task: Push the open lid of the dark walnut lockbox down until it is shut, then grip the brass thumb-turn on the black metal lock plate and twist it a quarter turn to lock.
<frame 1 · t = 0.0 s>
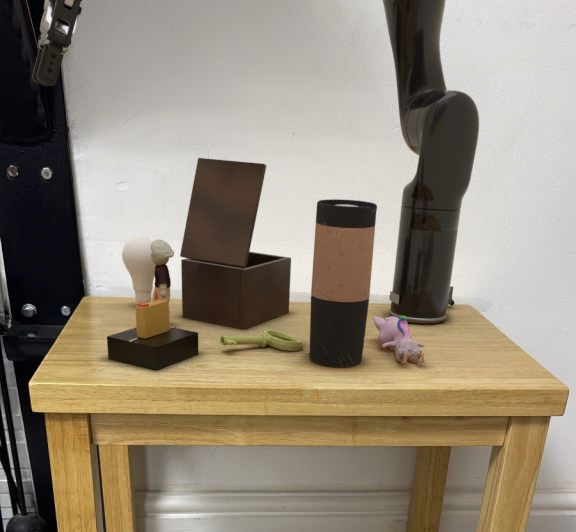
hand: (42, 83, 96), 31 cm above the table, tool tilted 20°, fingers open, 8 cm apart
lock knob: (152, 317, 101), point 5 cm above the table, hinge at 0.0°
lockbox lid: (221, 212, 115), point 16 cm above the table, hinge at 70.0°
lightbulb: (143, 307, 128), on the table
lock plate: (154, 356, 104), on the table
lockbox: (236, 315, 126), on the table
pink toy animal: (395, 352, 111), on the table
key: (262, 348, 110), on the table
travel mug: (335, 361, 106), on the table
grandmother figurine: (162, 329, 117), on the table
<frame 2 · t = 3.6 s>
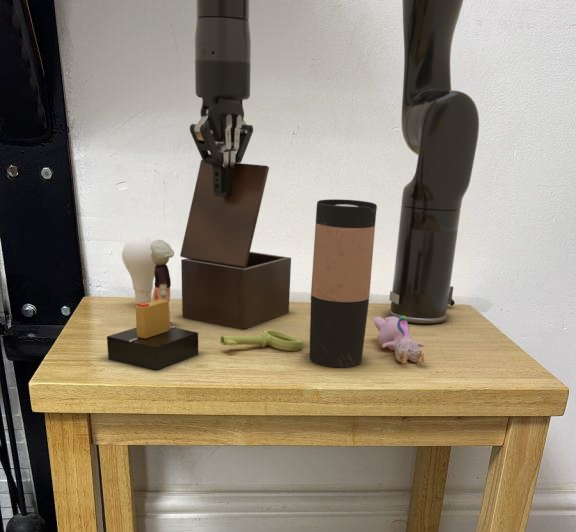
hand: (222, 196, 114), 18 cm above the table, tool pointing down, fingers closed
lockbox lid: (223, 213, 115), point 16 cm above the table, hinge at 66.7°, touching gripper
everything else where it was.
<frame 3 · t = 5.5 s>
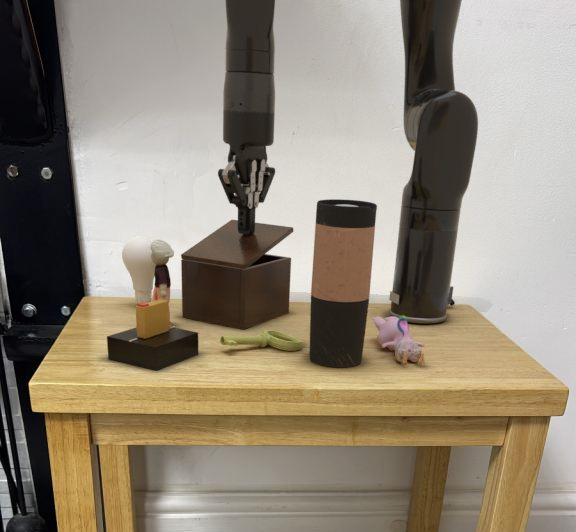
hand: (246, 233, 122), 12 cm above the table, tool pointing down, fingers closed
lockbox lid: (238, 242, 121), point 11 cm above the table, hinge at 15.4°, touching gripper
everything else where it was.
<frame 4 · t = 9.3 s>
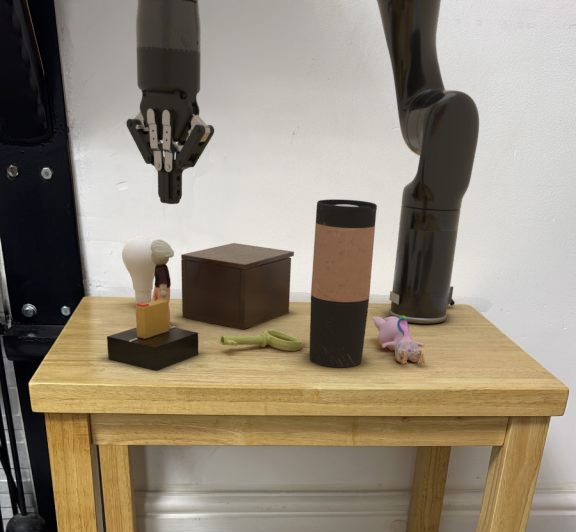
hand: (169, 203, 100), 19 cm above the table, tool pointing down, fingers closed
lockbox lid: (239, 255, 122), point 9 cm above the table, hinge at 0.4°
everything else where it was.
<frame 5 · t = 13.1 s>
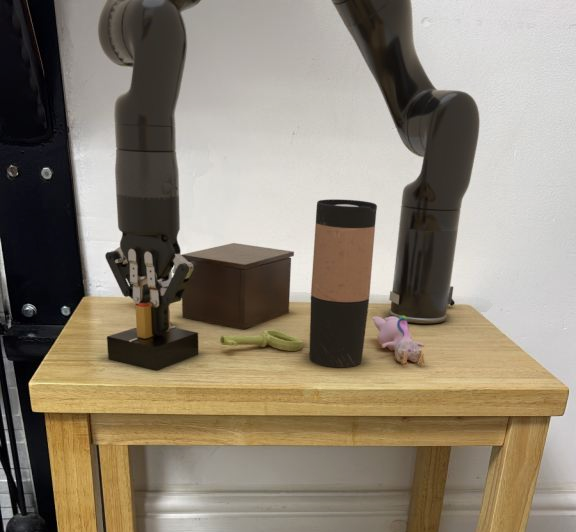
hand: (153, 332, 102), 3 cm above the table, tool pointing down, fingers closed
lock knob: (152, 317, 101), point 5 cm above the table, hinge at 0.0°, touching gripper
everything else where it was.
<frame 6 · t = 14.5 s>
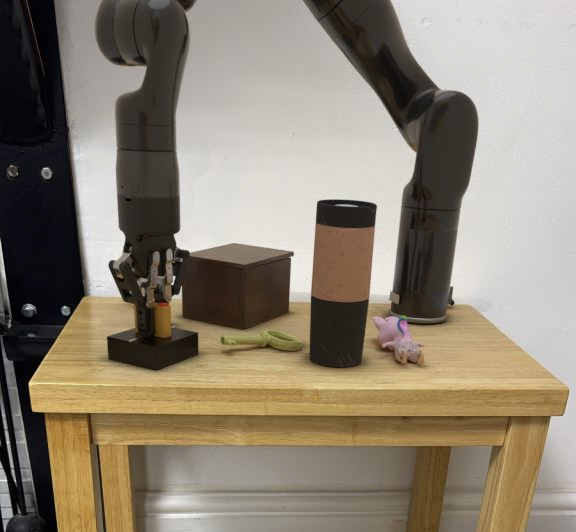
hand: (153, 332, 102), 3 cm above the table, tool pointing down, fingers closed
lock knob: (152, 317, 101), point 5 cm above the table, hinge at 89.7°
everything else where it was.
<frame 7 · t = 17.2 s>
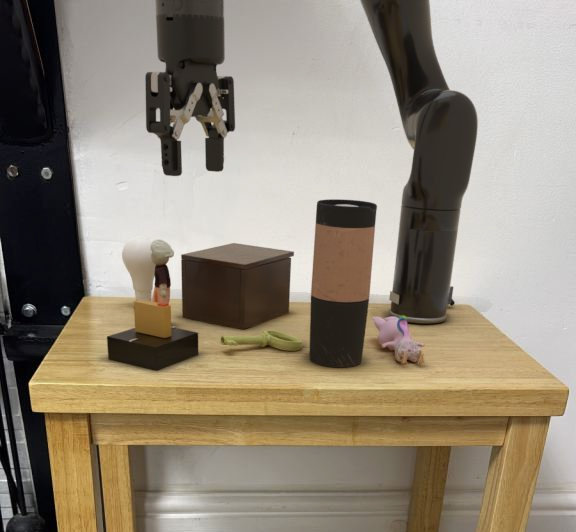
hand: (194, 173, 94), 23 cm above the table, tool pointing down, fingers open, 8 cm apart
nothing on the table moved.
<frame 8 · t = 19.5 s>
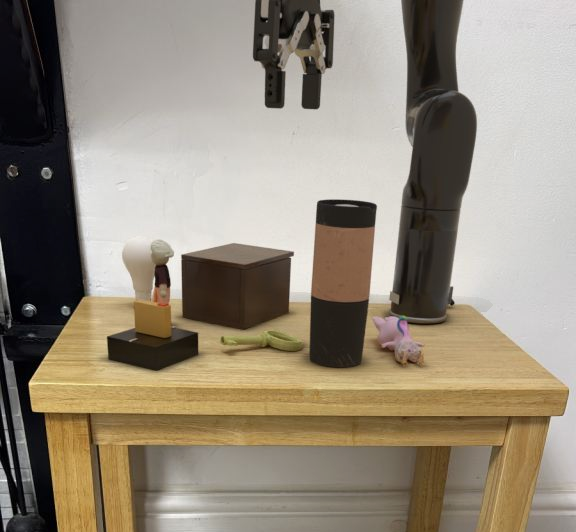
hand: (292, 108, 91), 30 cm above the table, tool pointing down, fingers open, 8 cm apart
nothing on the table moved.
at the end: lockbox lid at +0° (first picture: +70°); lock knob at +90° (first picture: +0°) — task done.
